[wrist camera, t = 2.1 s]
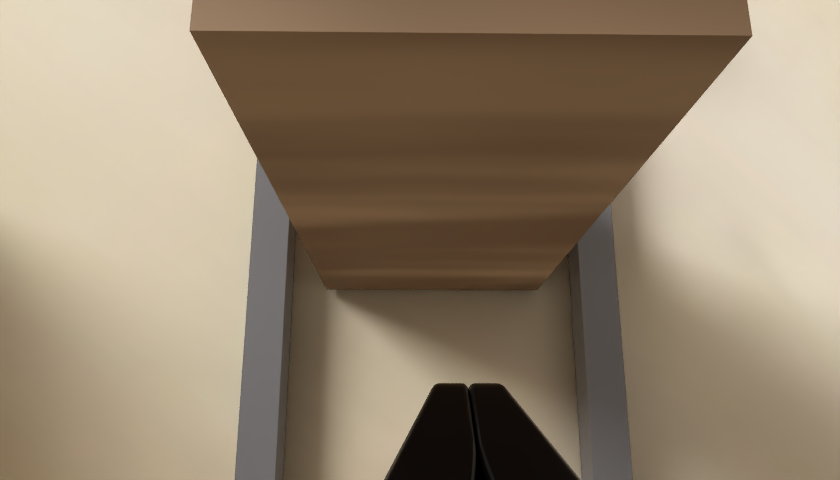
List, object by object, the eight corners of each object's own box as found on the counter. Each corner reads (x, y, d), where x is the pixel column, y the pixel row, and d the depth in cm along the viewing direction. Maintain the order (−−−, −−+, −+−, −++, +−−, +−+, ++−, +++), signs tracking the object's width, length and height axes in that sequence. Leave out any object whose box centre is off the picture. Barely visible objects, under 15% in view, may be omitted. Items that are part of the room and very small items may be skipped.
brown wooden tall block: (537, 289, 20) (752, 35, 7) (327, 289, 20) (189, 30, 7) (532, 190, 21) (718, -186, 8) (330, 189, 21) (212, -194, 8)
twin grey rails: (623, 533, 18) (663, 550, 16) (241, 534, 18) (210, 551, 15) (579, -51, 23) (603, -120, 21) (280, -54, 23) (262, -125, 20)
